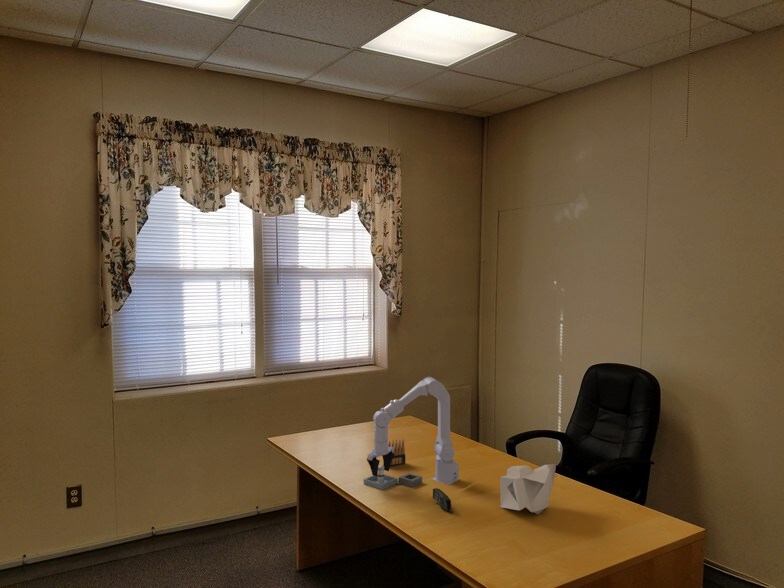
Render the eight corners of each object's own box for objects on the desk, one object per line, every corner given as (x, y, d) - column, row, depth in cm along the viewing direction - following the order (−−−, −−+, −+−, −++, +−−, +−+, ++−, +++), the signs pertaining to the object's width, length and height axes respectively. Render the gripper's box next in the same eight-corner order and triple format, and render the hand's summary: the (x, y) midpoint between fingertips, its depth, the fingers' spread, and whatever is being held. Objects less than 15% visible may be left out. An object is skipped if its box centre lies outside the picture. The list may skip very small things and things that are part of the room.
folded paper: (496, 463, 217) (532, 481, 203) (540, 453, 231) (576, 468, 217) (493, 507, 219) (528, 527, 205) (536, 494, 233) (571, 512, 219)
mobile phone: (431, 487, 227) (447, 501, 212) (438, 486, 227) (455, 500, 213) (431, 500, 227) (447, 514, 212) (438, 499, 228) (455, 513, 213)
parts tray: (397, 484, 242) (397, 478, 242) (382, 491, 234) (382, 484, 234) (379, 478, 248) (379, 472, 248) (363, 485, 241) (363, 479, 241)
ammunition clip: (403, 463, 268) (403, 438, 267) (405, 465, 266) (405, 439, 266) (383, 467, 263) (383, 441, 262) (385, 468, 261) (385, 442, 260)
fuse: (385, 483, 242) (385, 466, 241) (381, 485, 239) (381, 468, 239) (380, 481, 243) (380, 464, 243) (375, 483, 241) (375, 466, 241)
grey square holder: (422, 483, 243) (422, 476, 243) (412, 488, 237) (412, 481, 237) (408, 479, 247) (408, 472, 247) (398, 484, 242) (398, 477, 242)
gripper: (384, 434, 249) (384, 466, 249) (362, 442, 238) (361, 475, 238) (397, 438, 244) (397, 470, 245) (375, 445, 233) (374, 479, 234)
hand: (380, 472), depth 241 cm, fingers open, 7 cm apart
